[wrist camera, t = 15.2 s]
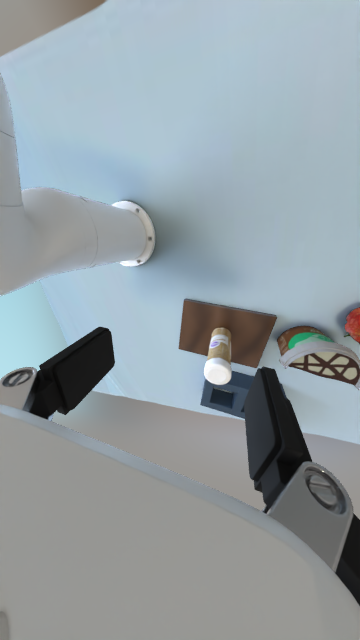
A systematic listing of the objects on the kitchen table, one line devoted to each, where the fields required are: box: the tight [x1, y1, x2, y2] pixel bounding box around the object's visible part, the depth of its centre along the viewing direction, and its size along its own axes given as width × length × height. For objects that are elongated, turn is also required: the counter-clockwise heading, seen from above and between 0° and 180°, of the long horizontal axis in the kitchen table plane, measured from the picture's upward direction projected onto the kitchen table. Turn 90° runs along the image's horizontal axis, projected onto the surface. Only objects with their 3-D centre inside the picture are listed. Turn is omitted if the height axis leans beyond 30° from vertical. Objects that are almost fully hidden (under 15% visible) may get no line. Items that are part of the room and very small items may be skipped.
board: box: [179, 299, 277, 368], centre depth 39 cm, size 20×14×1 cm
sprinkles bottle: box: [204, 327, 232, 385], centre depth 33 cm, size 5×5×13 cm
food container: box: [277, 326, 360, 390], centre depth 30 cm, size 12×6×10 cm, turn 81°
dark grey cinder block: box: [200, 371, 286, 419], centre depth 43 cm, size 19×10×5 cm, turn 85°
